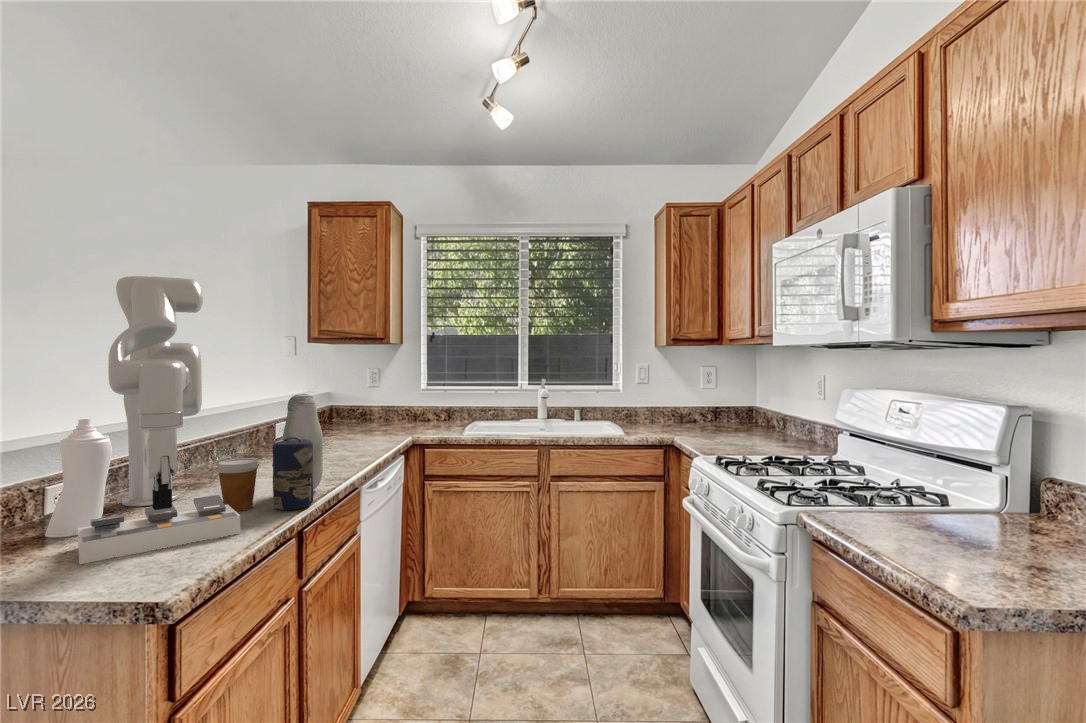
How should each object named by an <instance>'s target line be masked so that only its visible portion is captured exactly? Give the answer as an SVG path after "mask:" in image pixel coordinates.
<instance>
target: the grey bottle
mask: <svg viewBox="0 0 1086 723" xmlns="http://www.w3.org/2000/svg"><path fill="white" fill-rule="evenodd" d="M286 409H287V413H286V414H287V415H286V420H285V424H284V428H283V433H282V441H284V440H285V439H287V438H290V437H295V438H298V439H306V440H310V441H312V443H313V491H315V489H317V487H319V485H320V483H321V481H322V478H323V470H324V469H323V461H324V458H323V457H324V456H323V454H324V453H323V451H324V444H323V443H324V441H323V440H324V438H323V436H324V435H323V430H322V426H321V424H320V421H319V420H320V419H319V416H318V415H319V414H318V411H317V402H316V399H315V397H313V395H311V394H309V393H308V394H307V393H300V394H299V393H298V394H295V395H292V396H291V397H290V398H289V399H288V402H287V408H286ZM289 440H297V439H289Z"/></svg>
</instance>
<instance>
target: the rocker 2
mask: <svg viewBox="0 0 1086 723" xmlns="http://www.w3.org/2000/svg"><path fill="white" fill-rule="evenodd" d="M193 504H194V506H195V508H196V509H197V511H198V514H199V516H201V515H207V514H213V513H219V512H225V511H226V507H225V505H224V503H223V498H222V496H220V494H216V495H215V494H214V495H209V496H202V497H196V498H193ZM196 509H195V510H196Z"/></svg>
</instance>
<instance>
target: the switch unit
mask: <svg viewBox="0 0 1086 723" xmlns="http://www.w3.org/2000/svg"><path fill="white" fill-rule="evenodd" d="M225 507H226V511H225V512H219V513H213V514H207V515H201V516H199V514H198V511H197V509H192V510H183V511H177V517H173V518H166V519H160V520H154V521H148V519H147V517H146V516H145V517H140V518H134V519H127V520H124V522H121V523H114V524H108V525H102V526H95V527H92V526H88V527H82V528H78V535H77V542H78V543H77V550H78V564H79V565H83V564H88V563H93V562H97V561H98V562H99V561H103V560H109V559H115V558H120V557H125V556H129V555H130V556H131V555H135V554H140V553H145V552H146V553H147V552H152V551H156V549H157V550H162V548H163V549H167V547H168V548H172V546H173V547H177V545H178V546H183V545H182V544H184V545H187V544H186V543H189V544H192V543H191V542H194V543H197V542H196V541H200V542H203V541H202V540H205V541H207V540H206V539H210V540H213V539H212V538H215V539H219V538H218V537H221V538H224V537H223V536H226V537H229V536H228V535H231V536H235V535H234V534H236V535H240V534H241V514H239V513H238V511H235V510H234V509H232V508H231V507H230V506H229V505H225ZM151 550H152V551H151ZM114 557H115V558H114Z"/></svg>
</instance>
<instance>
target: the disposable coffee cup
mask: <svg viewBox="0 0 1086 723" xmlns="http://www.w3.org/2000/svg"><path fill="white" fill-rule="evenodd" d="M259 467H260V464H259V463H258V460H257V459H256V458H248V457H247V458H246V457H245V458H243V457H242V458H234V459H227V460H222V461H220V462H218V464H217V467H216V471H217V473H218V478H219V485H220V490H221V499H222V501H223V503H224V505H229V506H230V507H231V508H232V509H234V510H235V511H236V512H242V511H241V510H243V511H247V510H251V508H253V506H254V494H255V487H256V480H257V479H256V478H257V472H258V468H259Z"/></svg>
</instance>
